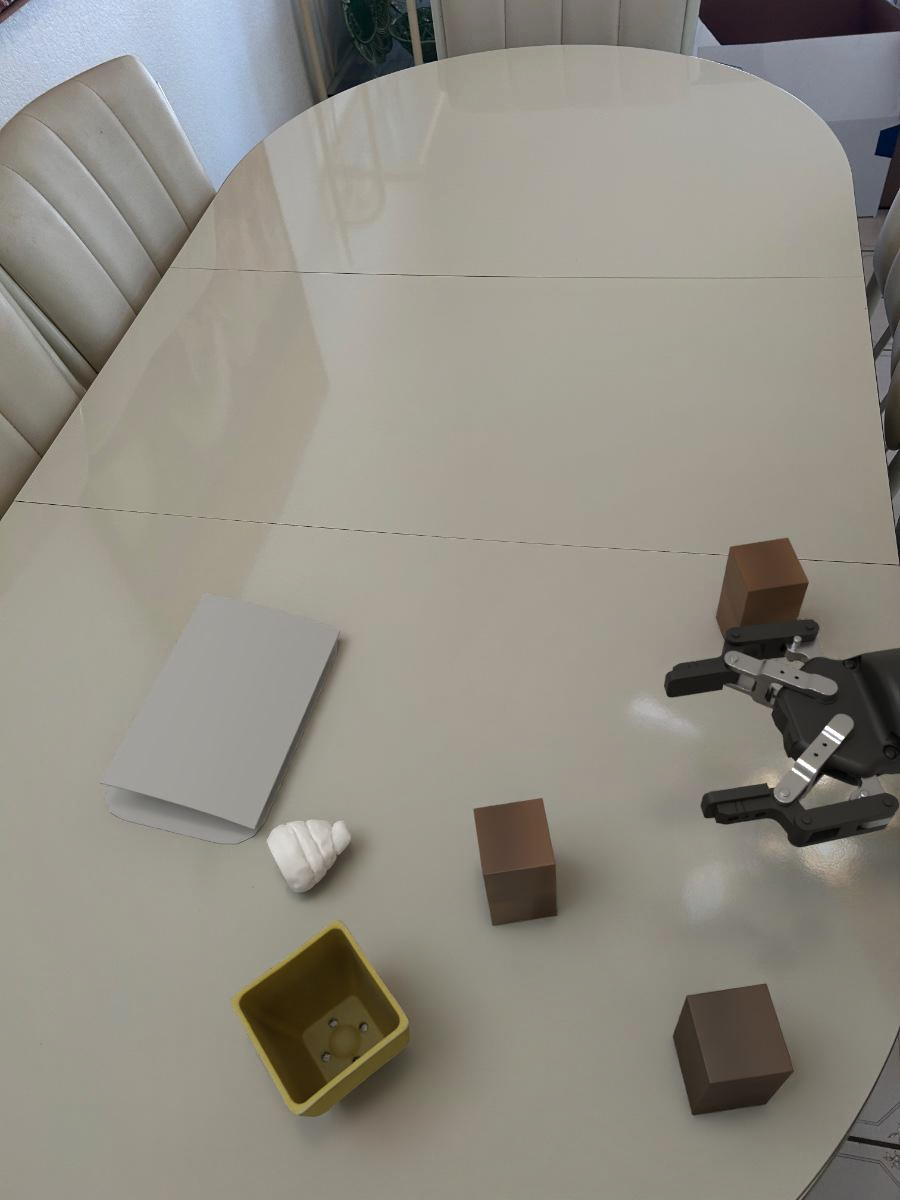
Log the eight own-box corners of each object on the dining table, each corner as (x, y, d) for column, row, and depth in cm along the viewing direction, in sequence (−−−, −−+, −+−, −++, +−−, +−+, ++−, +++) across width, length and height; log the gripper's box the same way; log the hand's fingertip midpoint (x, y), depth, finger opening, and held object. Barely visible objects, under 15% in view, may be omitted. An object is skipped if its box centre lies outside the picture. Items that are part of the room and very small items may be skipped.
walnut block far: (768, 608, 87) (788, 537, 79) (787, 652, 84) (809, 582, 76) (715, 617, 87) (729, 546, 79) (731, 660, 84) (748, 591, 76)
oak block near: (743, 1025, 65) (766, 982, 57) (766, 1104, 62) (794, 1071, 54) (672, 1035, 65) (686, 995, 57) (692, 1115, 62) (709, 1084, 54)
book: (92, 812, 81) (74, 791, 78) (205, 605, 94) (193, 581, 91) (253, 852, 77) (240, 832, 74) (347, 631, 90) (339, 606, 87)
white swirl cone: (368, 868, 75) (356, 839, 71) (301, 907, 74) (284, 880, 69) (339, 814, 78) (326, 784, 74) (274, 851, 77) (257, 822, 72)
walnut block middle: (545, 854, 74) (542, 797, 66) (557, 915, 71) (555, 864, 63) (483, 863, 74) (473, 808, 66) (492, 925, 71) (482, 875, 63)
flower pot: (324, 1142, 63) (293, 1119, 56) (262, 1033, 68) (226, 998, 61) (429, 1056, 66) (412, 1023, 59) (362, 957, 71) (339, 915, 64)
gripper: (913, 576, 59) (658, 615, 59) (1026, 778, 50) (726, 824, 50) (881, 644, 65) (650, 680, 65) (977, 836, 56) (709, 877, 56)
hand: (683, 743), depth 57 cm, fingers open, 8 cm apart
